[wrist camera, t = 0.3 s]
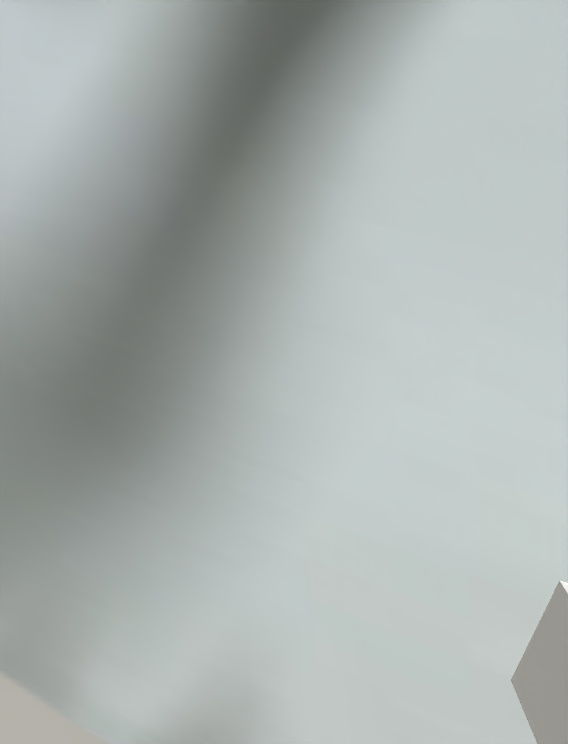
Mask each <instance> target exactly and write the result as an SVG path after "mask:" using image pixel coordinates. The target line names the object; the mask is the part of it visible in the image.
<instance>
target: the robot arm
mask: <svg viewBox="0 0 568 744" xmlns="http://www.w3.org/2000/svg"><path fill="white" fill-rule="evenodd" d="M511 681H512V684H513V686H514V688H515V691H516V693H517V696H518V698H519V700H520V703H521V705H522V708H523V710H524V713H525V715H526V717H527V720H528V722H529V725H530V727H531V729H532V732H533V734H534V737H535V739H536V742H537V744H568V582H563V581H559V583H558V585H557V587H556V589H555V591H554V593H553V595H552V597H551V599H550V601H549V603H548V605H547V608H546V610H545V612H544V614H543V616H542V618H541V620H540V622H539V624H538V626H537V628H536V630H535V632H534V634H533V636H532V638H531V640H530V642H529V644H528V646H527V648H526V651H525V653H524V655H523V657H522V659H521V661H520V663H519V665H518V667H517V669H516V671H515V673H514V675H513V677H512V679H511Z"/></svg>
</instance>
